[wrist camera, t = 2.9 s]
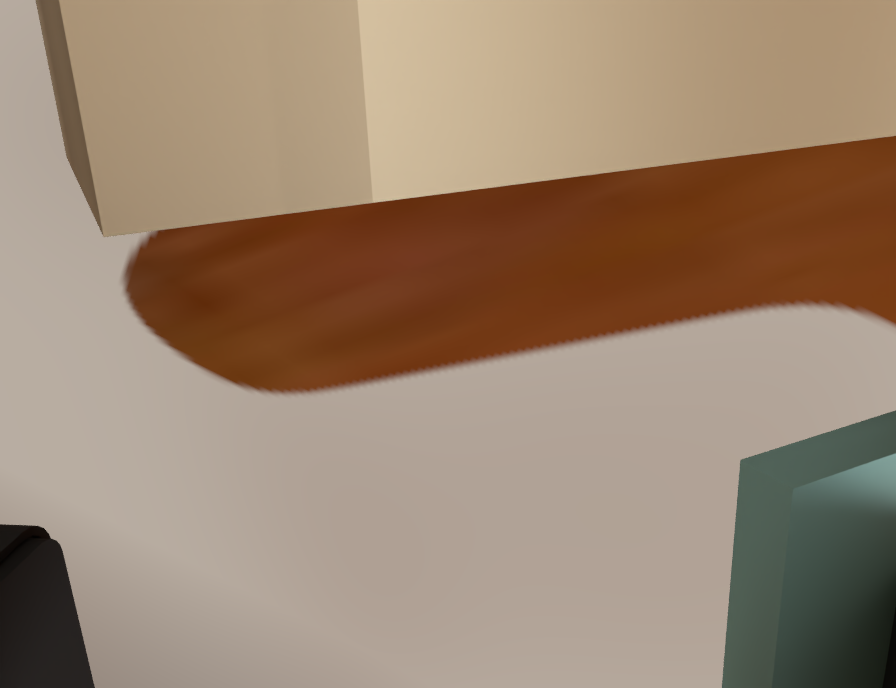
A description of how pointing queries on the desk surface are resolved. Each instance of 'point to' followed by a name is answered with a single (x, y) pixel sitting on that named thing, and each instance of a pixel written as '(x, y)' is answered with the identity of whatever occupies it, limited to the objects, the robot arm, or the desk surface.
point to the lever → (515, 162)
